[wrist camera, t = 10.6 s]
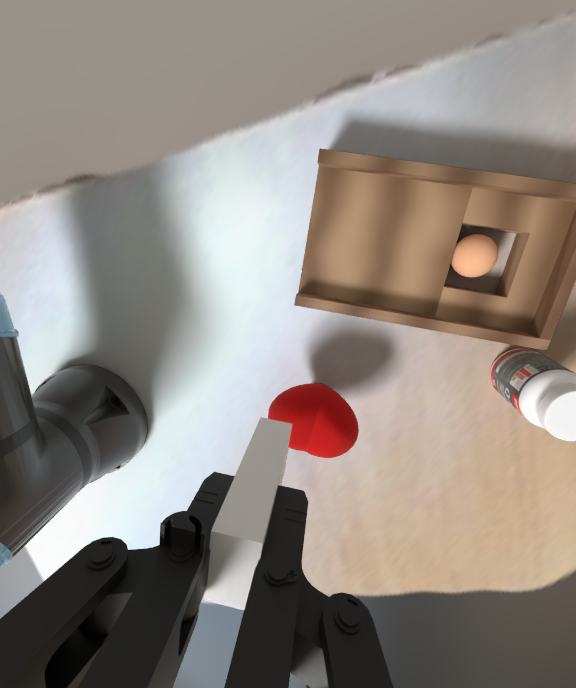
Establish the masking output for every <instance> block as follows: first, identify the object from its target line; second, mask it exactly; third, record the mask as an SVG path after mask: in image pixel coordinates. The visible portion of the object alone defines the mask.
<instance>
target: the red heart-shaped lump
mask: <svg viewBox="0 0 576 688" xmlns="http://www.w3.org/2000/svg"><path fill="white" fill-rule="evenodd" d="M268 419H271V420H276V421H281V422H286V423H291V424H292V429H291V435H290V441H289V447H290V448H292V449H295V450H300V451H306V452H308V453H309V454H311V455H314V456H317V457H323V458H333V457H337V456H340V455H342V454H344V453H346V452H347V451H348V450H349V449H350V448H352V446H353V445H354V443H355V442H356V440H357V437H358V431H359V429H358V422H357V419H356V416H355V414H354V412H353V410H352V409H351V407H350V406H349V404H348V403H347V402H346V401H345V400H344V399H343V398H342V397H341V396H340V395H339V394H338V393H337V392H335V391H334V390H332V389H331V388H329V387H328V386H326V385H324V384H304V385H299V386H296V387H292V388H290V389H288V390H286V391H284V392H282V393H281V394H280V395H278V396H277V397H276V398H275V400H274V401H273V402H272V404H271V406H270V408H269V414H268Z"/></svg>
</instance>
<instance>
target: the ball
mask: <svg viewBox="0 0 576 688" xmlns="http://www.w3.org/2000/svg"><path fill="white" fill-rule="evenodd" d="M497 258H498V248H497V246H496V244H495V242H494V241H493V240H492V239H491V238H489V237H487V236H485V235H481V234H473V235H469V236H466V237H464V238H462V239H461V240H460V241H459V242H457V244H456V247H455V250H454V253H453V257H452V260H451V264H452V266H453V268H454V270H455V271H456V272H457V273H459V274H460V275H462V276H465V277H478V276H481V275H484V274H485V273H487V272H488V271H490V270H491V269H492V268H493V266H494V265H495V263H496V261H497Z"/></svg>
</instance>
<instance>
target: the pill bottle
mask: <svg viewBox="0 0 576 688" xmlns="http://www.w3.org/2000/svg"><path fill="white" fill-rule="evenodd" d="M490 380H491V383H492V385H493V387H494V388H495V389H496V390H497V391H498V393H499V394H500V395H502V396H503V397H504V398H505V399H506V400H507V401H508V402H509V403H510V404H511V405H512V406H513V407H514V408H515V409H517V410H518V411H519V412H520V413H521V414H522V415H523V416H524V417H525V418H526V419H527V420H528V421H530V422H531V423H533V424H535V425H537V426H539V427H542V428H545V429H546V430H547V431H548V432H550V433H551V434H552V435H553V436H555V437H557V438H559V439H562V440H566V441H576V374H575V373H574V372H572V371H570V370H568V369H567V368H565V367H563V366H561V365H559V364H558V363H556V362H554V361H552V360H551V359H549V358H547V357H545V356H544V355H542V354H540V353H538V352H536V351H534V350H531V349H526V348H517V349H513V350H509V351H507V352H505V353H503V354H502V355H501V356H499V357H498V358H497V359H496V360H495V362H494V363H493V365H492V367H491V371H490Z"/></svg>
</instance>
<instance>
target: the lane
mask: <svg viewBox="0 0 576 688" xmlns="http://www.w3.org/2000/svg"><path fill="white" fill-rule="evenodd" d="M318 164H319V169H318V175H317V181H316V187H315V194H314V200H313V206H312V212H311V218H310V224H309V230H308V237H307V243H306V249H305V255H304V261H303V267H302V273H301V279H300V286H299V292H298V294H297V295H296V299H295V305H296V306H302V307H307V308H313V309H318V310H324V311H330V312H335V313H341V314H346V315H352V316H357V317H363V318H368V319H374V320H379V321H385V322H390V323H396V324H402V325H407V326H413V327H418V328H424V329H429V330H435V331H440V332H446V333H451V334H457V335H462V336H468V337H474V338H479V339H485V340H490V341H496V342H501V343H507V344H512V345H518V346H523V347H529V348H534V349H540V350H546V351H547V349H548V346H549V344H550V342H551V339H552V337H553V334H554V332H555V329H556V327H557V324H558V322H559V320H560V317H561V315H562V312H563V310H564V307H565V305H566V302H567V300H568V298H569V295H570V293H571V290H572V288H573V285H574V283H575V280H576V184H575V183H568V182H560V181H553V180H546V179H539V178H531V177H524V176H517V175H509V174H502V173H495V172H487V171H480V170H473V169H466V168H458V167H451V166H444V165H436V164H429V163H422V162H414V161H407V160H400V159H392V158H385V157H378V156H371V155H363V154H356V153H349V152H341V151H334V150H327V149H320V150H319V156H318ZM462 225H464V226H471V227H477V228H484V229H490V230H497V231H503V232H510V233H517V234H516V237H515V240H514V243H513V246H512V249H511V252H510V254H509V257H508V260H507V263H506V266H505V269H504V272H503V275H502V278H501V281H500V284H499V287H498V289H497V292H496V294H494V293H488V292H482V291H476V290H470V289H464V288H458V287H452V286H446V285H444V284H445V281H446V277H447V274H448V270H449V267H450V264H451V260H452V257H453V253H454V250H455V247H456V243H457V240H458V236H459V233H460V230H461V226H462Z"/></svg>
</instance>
